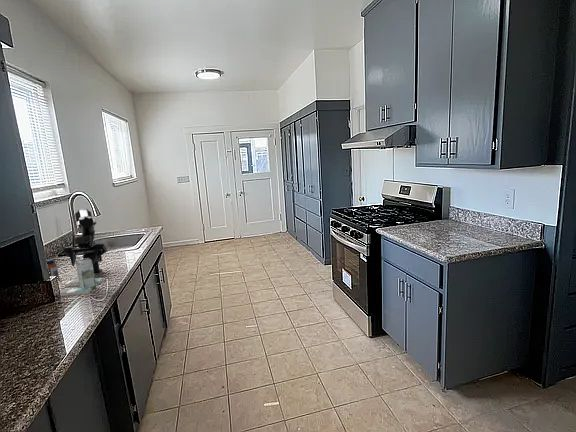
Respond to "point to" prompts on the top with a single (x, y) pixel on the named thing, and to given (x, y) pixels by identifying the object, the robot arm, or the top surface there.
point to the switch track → (79, 290)
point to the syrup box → (85, 273)
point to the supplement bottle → (52, 268)
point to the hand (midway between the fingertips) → (83, 264)
